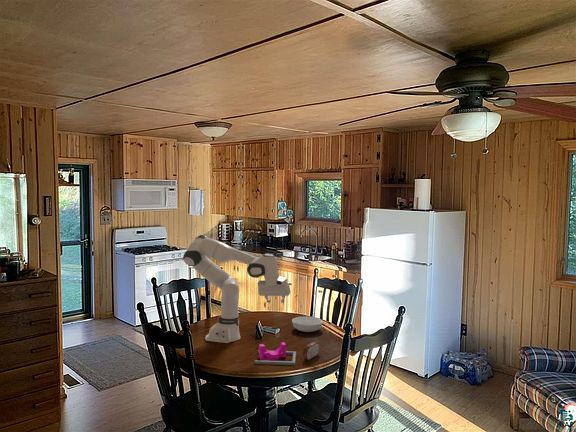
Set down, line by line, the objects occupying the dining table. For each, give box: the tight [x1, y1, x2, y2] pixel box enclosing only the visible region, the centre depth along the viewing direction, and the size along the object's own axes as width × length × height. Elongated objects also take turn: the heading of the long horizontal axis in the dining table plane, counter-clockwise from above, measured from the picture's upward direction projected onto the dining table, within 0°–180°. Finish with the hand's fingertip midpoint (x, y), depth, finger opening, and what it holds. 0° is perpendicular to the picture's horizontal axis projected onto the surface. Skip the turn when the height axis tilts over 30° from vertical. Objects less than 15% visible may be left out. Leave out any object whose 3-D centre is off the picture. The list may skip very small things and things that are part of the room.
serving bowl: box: [291, 316, 323, 333], centre depth 301 cm, size 21×21×7 cm
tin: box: [302, 340, 320, 361], centre depth 251 cm, size 15×3×8 cm, turn 146°
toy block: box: [258, 341, 287, 361], centre depth 249 cm, size 15×6×8 cm, turn 106°
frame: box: [254, 349, 297, 366], centre depth 248 cm, size 22×17×2 cm
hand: (275, 302), depth 261 cm, fingers open, 8 cm apart
